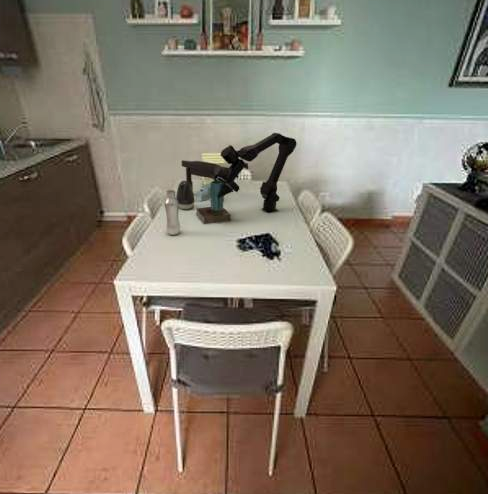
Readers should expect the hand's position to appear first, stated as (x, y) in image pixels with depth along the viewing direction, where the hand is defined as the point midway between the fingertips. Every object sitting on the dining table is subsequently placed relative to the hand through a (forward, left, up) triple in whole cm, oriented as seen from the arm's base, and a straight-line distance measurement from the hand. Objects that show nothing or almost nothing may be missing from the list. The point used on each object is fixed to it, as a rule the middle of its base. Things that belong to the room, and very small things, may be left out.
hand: (214, 195), depth 158 cm
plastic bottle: (+24, +3, -14) cm, 27 cm away
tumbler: (-1, 0, -7) cm, 7 cm away
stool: (-14, -35, -14) cm, 40 cm away
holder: (-2, -5, -13) cm, 15 cm away
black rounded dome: (+4, -25, -14) cm, 29 cm away
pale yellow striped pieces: (-34, -56, -14) cm, 67 cm away
